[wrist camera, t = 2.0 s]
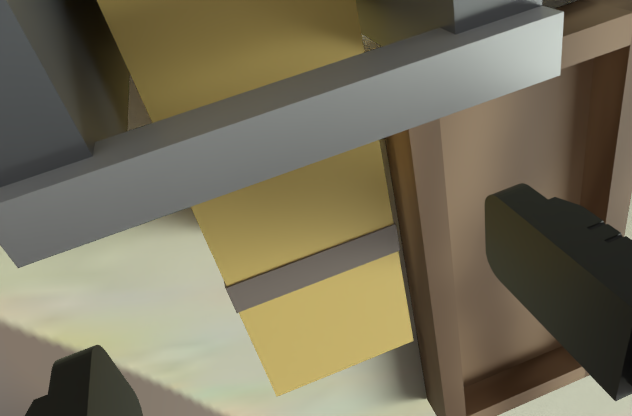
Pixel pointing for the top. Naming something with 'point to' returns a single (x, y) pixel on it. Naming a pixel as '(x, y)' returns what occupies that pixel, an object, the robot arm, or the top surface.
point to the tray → (496, 175)
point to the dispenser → (228, 111)
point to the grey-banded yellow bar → (279, 182)
